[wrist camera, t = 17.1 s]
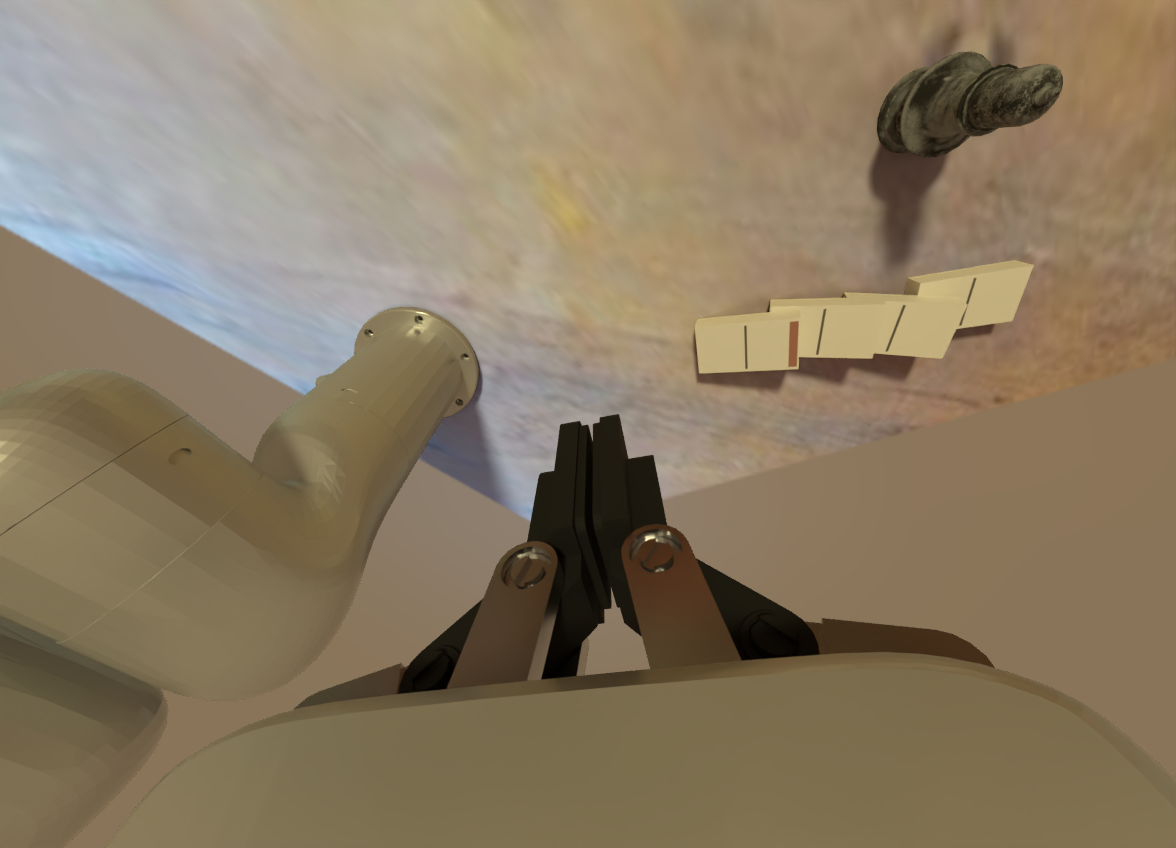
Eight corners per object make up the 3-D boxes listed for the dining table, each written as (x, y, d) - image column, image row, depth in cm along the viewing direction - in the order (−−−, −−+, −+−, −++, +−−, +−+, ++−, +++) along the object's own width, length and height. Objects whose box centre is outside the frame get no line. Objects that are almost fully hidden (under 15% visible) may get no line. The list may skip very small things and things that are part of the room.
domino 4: (907, 336, 40) (1012, 321, 39) (920, 283, 37) (1033, 265, 36) (895, 328, 41) (995, 313, 40) (906, 277, 39) (1014, 260, 38)
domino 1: (699, 373, 42) (798, 369, 39) (694, 326, 40) (800, 317, 36) (701, 364, 44) (797, 359, 40) (697, 318, 41) (799, 309, 38)
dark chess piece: (944, 149, 33) (1095, 147, 23) (866, 163, 34) (980, 168, 24) (968, 52, 30) (1154, 1, 20) (881, 71, 31) (1019, 30, 21)
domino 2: (765, 356, 41) (872, 358, 38) (770, 306, 38) (886, 304, 35) (765, 348, 43) (868, 349, 39) (770, 299, 40) (881, 296, 37)
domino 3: (832, 350, 40) (942, 358, 38) (847, 299, 38) (968, 304, 35) (829, 341, 42) (934, 349, 40) (844, 292, 39) (958, 297, 37)
